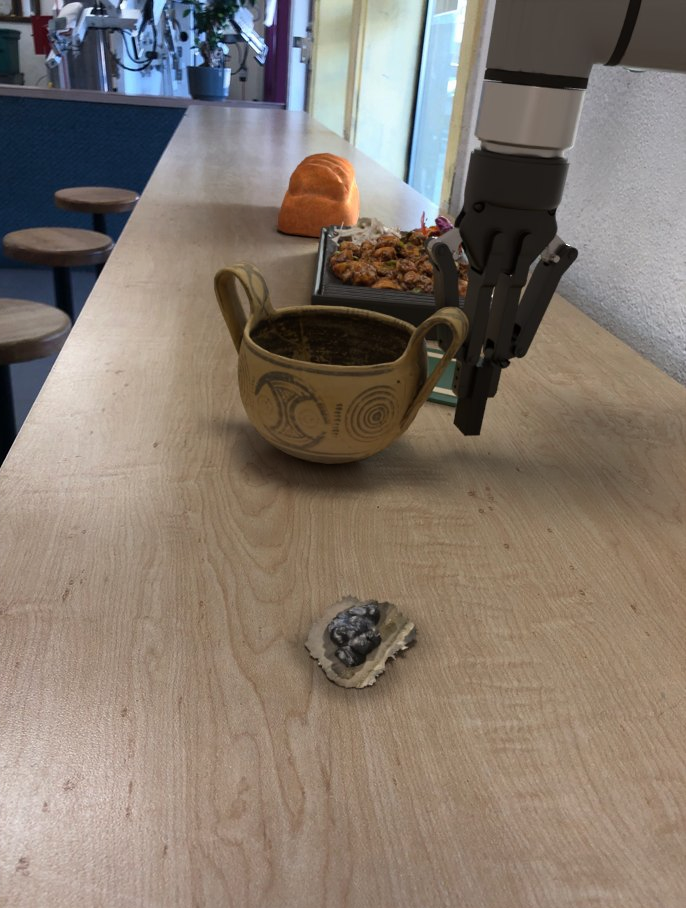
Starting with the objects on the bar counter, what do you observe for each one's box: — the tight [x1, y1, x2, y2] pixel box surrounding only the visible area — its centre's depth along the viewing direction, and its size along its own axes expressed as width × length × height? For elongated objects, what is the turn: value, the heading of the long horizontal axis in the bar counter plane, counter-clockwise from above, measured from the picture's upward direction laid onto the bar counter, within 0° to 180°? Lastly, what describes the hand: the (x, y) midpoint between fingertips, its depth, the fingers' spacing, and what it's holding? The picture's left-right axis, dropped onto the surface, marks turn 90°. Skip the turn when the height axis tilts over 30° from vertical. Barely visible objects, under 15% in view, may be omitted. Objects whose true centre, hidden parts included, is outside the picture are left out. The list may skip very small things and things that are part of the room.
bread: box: [276, 152, 360, 238], centre depth 161 cm, size 16×31×13 cm, turn 174°
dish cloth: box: [426, 346, 458, 408], centre depth 93 cm, size 20×16×1 cm
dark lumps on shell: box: [304, 593, 419, 689], centre depth 48 cm, size 7×8×2 cm
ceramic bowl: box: [213, 261, 469, 465], centre depth 69 cm, size 22×17×15 cm
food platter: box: [310, 210, 493, 345], centre depth 119 cm, size 45×25×10 cm, turn 178°
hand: (466, 429), depth 72 cm, fingers closed
